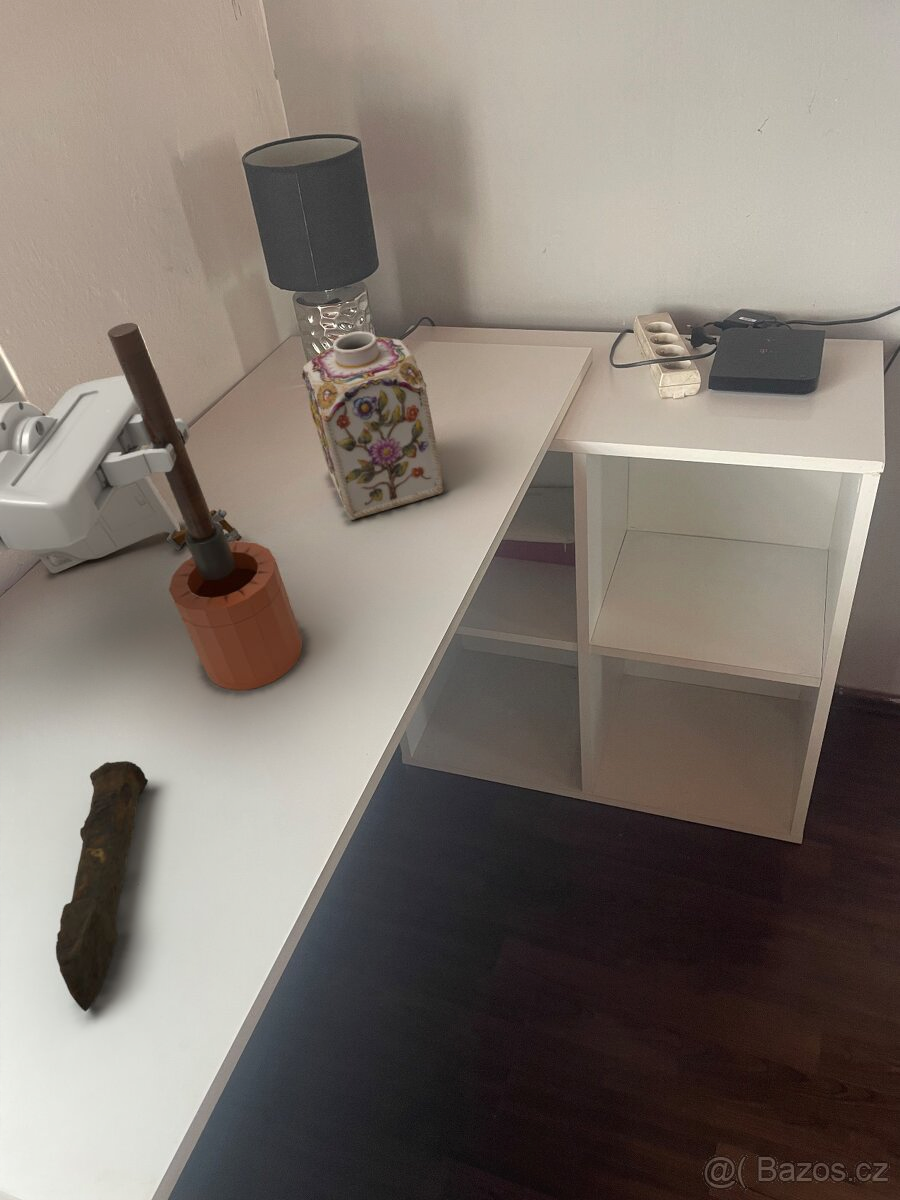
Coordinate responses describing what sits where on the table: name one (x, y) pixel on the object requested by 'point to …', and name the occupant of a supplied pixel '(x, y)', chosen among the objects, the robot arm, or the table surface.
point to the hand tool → (98, 881)
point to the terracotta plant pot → (239, 619)
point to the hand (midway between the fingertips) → (179, 444)
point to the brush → (161, 427)
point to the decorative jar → (373, 423)
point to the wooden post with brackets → (218, 517)
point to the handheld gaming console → (117, 526)
